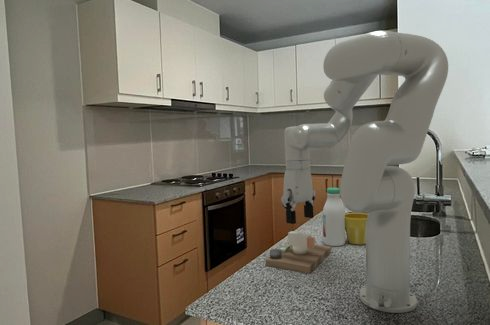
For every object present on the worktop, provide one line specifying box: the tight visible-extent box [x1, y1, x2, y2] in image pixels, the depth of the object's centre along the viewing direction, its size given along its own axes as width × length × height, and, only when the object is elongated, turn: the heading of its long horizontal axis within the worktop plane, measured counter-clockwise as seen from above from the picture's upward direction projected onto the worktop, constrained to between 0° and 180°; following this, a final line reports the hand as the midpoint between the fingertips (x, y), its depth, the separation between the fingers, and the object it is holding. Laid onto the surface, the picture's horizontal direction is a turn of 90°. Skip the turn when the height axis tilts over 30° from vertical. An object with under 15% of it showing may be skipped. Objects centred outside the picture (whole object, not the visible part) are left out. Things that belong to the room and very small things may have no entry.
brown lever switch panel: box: [265, 243, 332, 274], centre depth 112 cm, size 20×14×4 cm
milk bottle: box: [322, 187, 346, 247], centre depth 126 cm, size 8×8×20 cm
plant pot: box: [345, 212, 369, 246], centre depth 127 cm, size 10×10×10 cm
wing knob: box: [287, 230, 316, 255], centre depth 112 cm, size 9×4×6 cm, turn 47°
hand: (300, 220), depth 111 cm, fingers open, 9 cm apart
